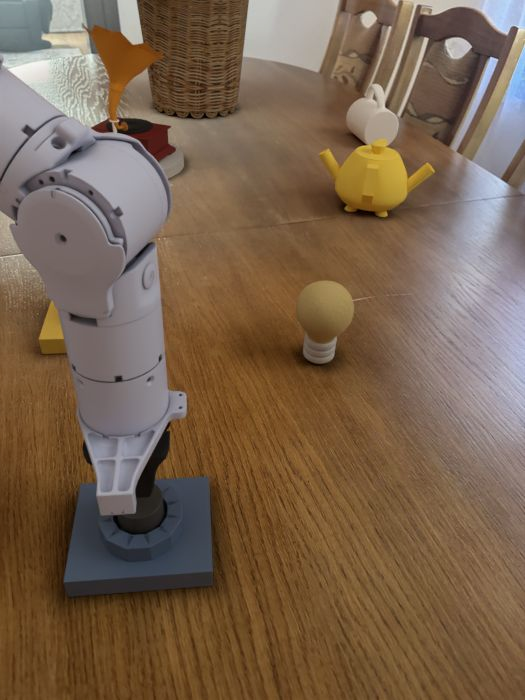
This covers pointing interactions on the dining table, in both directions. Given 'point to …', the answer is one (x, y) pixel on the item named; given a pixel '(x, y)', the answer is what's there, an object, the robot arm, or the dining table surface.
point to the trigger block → (52, 333)
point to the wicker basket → (195, 54)
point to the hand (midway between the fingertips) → (137, 490)
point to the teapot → (373, 178)
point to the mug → (372, 118)
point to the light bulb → (323, 318)
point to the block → (142, 544)
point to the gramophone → (121, 69)
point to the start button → (144, 514)
